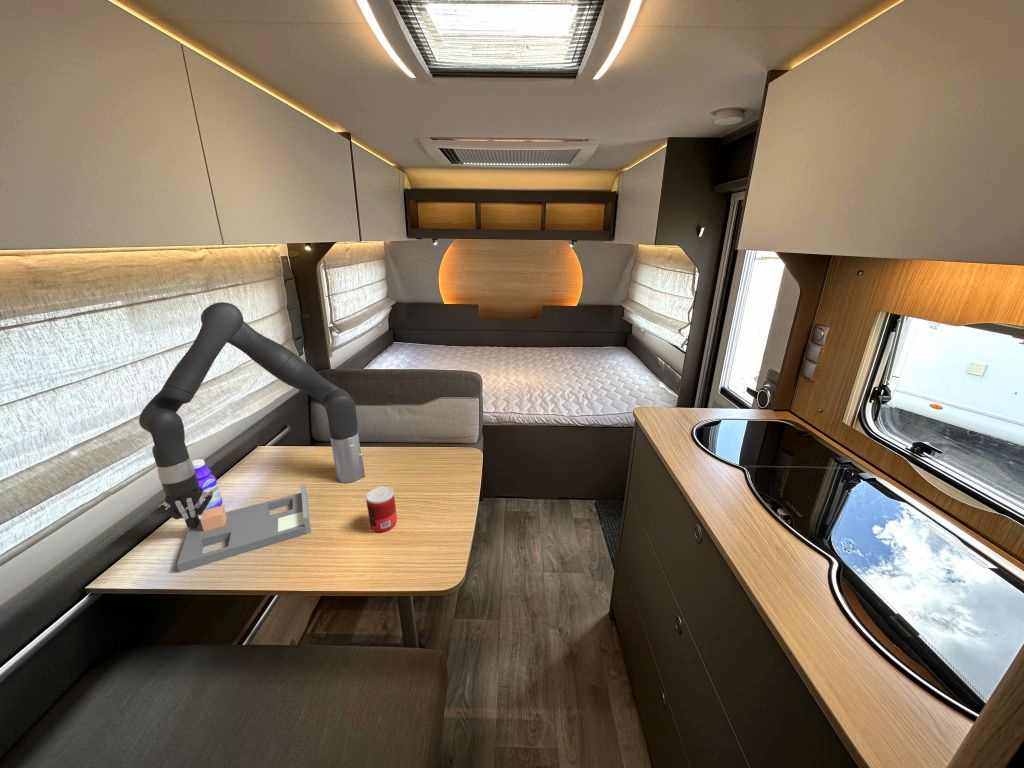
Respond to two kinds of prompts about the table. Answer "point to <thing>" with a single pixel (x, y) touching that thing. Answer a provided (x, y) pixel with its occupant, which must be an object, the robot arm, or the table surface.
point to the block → (213, 518)
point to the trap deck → (247, 530)
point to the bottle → (207, 484)
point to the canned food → (381, 509)
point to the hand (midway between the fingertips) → (194, 526)
